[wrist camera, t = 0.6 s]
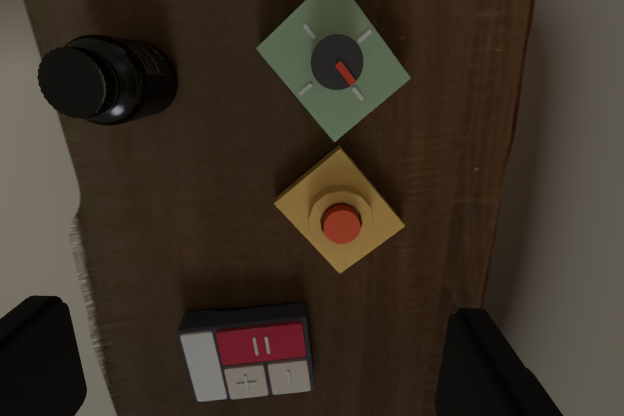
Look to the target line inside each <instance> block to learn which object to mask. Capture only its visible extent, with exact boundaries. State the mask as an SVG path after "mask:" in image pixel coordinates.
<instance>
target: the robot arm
mask: <svg viewBox="0 0 624 416" xmlns="http://www.w3.org/2000/svg"><path fill="white" fill-rule="evenodd" d="M86 393H87V387H86V383H85V378H84V374H83V369H82V365H81V360H80V356H79V352H78V347H77V343H76V339H75V334H74V329H73V325H72V321H71V316H70V311H69V308H68V305H67V304H66V303H63V302H62V300H61V299H60V298H59V297H57V296H30V297H28V298H27V299H25V300H24V301H23V302H21V303H20V304H19V305H18V306H17V307H15V308H14V309H12V310H11V311H10V312H9V313H7V314H6V315H5V316H4V317H2V318H1V319H0V416H74V415H75V414H76V412H77V411H78V410H79V409H80V407H81V405H82V404H83V402H84V400H85V397H86ZM435 410H436V414H437V416H563V415H562V413H561V412H560V410H559V409H558V408H557V406H556V405H555V403H554V402H553V401H552V399H551V398H550V396H549V395H548V394H547V392H546V391H545V389H544V388H543V386H542V385H541V384H540V382H539V381H538V380H537V378H536V377H535V375H534V374H533V373H532V372H531V371H530V370H529V369H527V368H526V367H525V366H524V364H523V363H522V362H521V360H520V359H519V357H518V356H517V355H516V353H515V352H514V350H513V349H512V347H511V346H510V344H509V343H508V341H507V340H506V339H505V337H504V336H503V334H502V333H501V331H500V330H499V328H498V327H497V326H496V324H495V323H494V321H493V320H492V319H491V317H490V316H489V314H488V313H487V311H485V309H478V308H459V309H458V310H457V312H456V314H451V315H450V316H449V320H448V326H447V332H446V338H445V343H444V349H443V355H442V361H441V367H440V372H439V378H438V384H437V390H436V396H435Z"/></svg>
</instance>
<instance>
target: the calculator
mask: <svg viewBox="0 0 624 416" xmlns="http://www.w3.org/2000/svg"><path fill="white" fill-rule="evenodd" d="M177 336H178V340H179V343H180V347H181V351H182V354H183V358H184V362H185V365H186V369H187V373H188V377H189V380H190V384H191V388H192V391H193V395H194V399H195V401H196V402H206V401H215V400H224V399H240V398H249V397H259V396H266V395H270V394H274V395H277V394H286V393H295V392H305V391H310V390H313V389H314V388H315V381H314V367H313V359H312V352H311V344H310V336H309V328H308V320H307V312H306V305H305V304H304V303H294V304H285V305H276V306H267V307H257V308H248V309H239V310H230V311H217V310H214V309H213V310H204V311H195V312H187V313H185V315H184V317H183V319H182V321H181V324H180V326H179V328H178V330H177Z"/></svg>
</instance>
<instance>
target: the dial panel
mask: <svg viewBox="0 0 624 416" xmlns="http://www.w3.org/2000/svg"><path fill="white" fill-rule="evenodd" d="M334 34H342V35H346V36H348V37H350V38H352V39H353V40H354V41H355V42H356V43H357V44H358V45H359V47H360V49H361V51H362V54H363V69H362V72H361V75H360V76H359V78H358V80H357V81H356V82H355V83H354V84H353V85H351V86H350V87H348V88H346V89H343V90H331V89H327V88H325V87H324V86H322V85H321V84H320V83H319V82H318V81H317V80H316V78H315V77H314V75H313V72H312V68H311V57H312V53H313V51H314V49H315V47H316V46H317V44H318V43H319V42H320V41H321V40H322V39H324V38H325V37H327V36H330V35H334ZM256 49H257V50H258V52H259V53H260V54H261V55H262V56H263V58H264V59H265V60H266V61H267V62H268V64H269V65H270V66H271V67H272V68H273V70H274V71H275V72H276V73H277V74H278V76H279V77H280V78H281V79H282V80H283V82H284V83H285V84H286V85H287V86H288V88H289V89H290V90H291V91H292V92H293V94H294V95H295V96H296V97H297V98H298V99H299V101H300V102H301V103H302V104H303V105H304V107H305V108H306V109H307V110H308V111H309V113H310V114H311V115H312V116H313V117H314V119H315V120H316V121H317V122H318V123H319V125H320V126H321V127H322V128H323V129H324V131H325V132H326V133H327V134H328V135H329V137H330V138H331V139H332V140H333V141H334V142H335V141H337V140H338V139H339V138H340V137H341V136H343V135H344V134H345V133H346V132H347V131H349V130H350V129H351V128H352V127H353V126H355V125H356V124H357V123H358V122H359V121H361V120H362V119H363V118H364V117H365V116H367V115H368V114H369V113H370V112H371V111H373V110H374V109H375V108H376V107H377V106H378V105H380V104H381V103H382V102H383V101H384V100H386V99H387V98H388V97H389V96H390V95H392V94H393V93H394V92H395V91H396V90H398V89H399V88H400V87H401V86H402V85H404V84H405V83H406V82H407V81H408V80H410V79H411V77H410V76H409V75H408V73H407V72H406V71H405V69H404V68H403V66H402V65H401V64H400V62H399V61H398V60H397V58H396V57H395V55H394V54H393V53H392V51H391V50H390V49H389V47H388V46H387V44H386V43H385V42H384V40H383V39H382V38H381V36H380V35H379V33H378V32H377V31H376V29H375V28H374V27H373V25H372V24H371V22H370V21H369V20H368V18H367V17H366V16H365V14H364V13H363V11H362V10H361V9H360V7H359V6H358V5H357V3H356V2H355V0H305V1H304V2H303V3H302V4H301V5H300V6H299V7H298V8H297V9H296V10H295V11H294V12H293V13H292V14H291V15H290V16H289V17H288V18H287V19H286V20H285V21H284V22H282V23H281V24H280V25H279V26H278V27H277V28H276V29H275V30H274V31H273V32H272V33H271V34H270V35H269V36H268V37H267V38H266V39H265V40H264V41H263V42H262V43H261V44H260V45H259V46H258V47H257V48H256Z"/></svg>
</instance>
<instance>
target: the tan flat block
mask: <svg viewBox="0 0 624 416" xmlns="http://www.w3.org/2000/svg"><path fill="white" fill-rule="evenodd" d="M274 204H275V205H276V206H277V207H278V209H279V210H280V211H281V212H282V213H283V214H284V215H285V216H286V217H287V218H288V219H289V220H290V221H291V222H292V223H293V224H294V226H295V227H296V228H297V229H298V230H299V231H300V232H301V233H302V234H303V235H304V236H305V237H306V238H307V239H308V240H309V242H310V243H311V244H312V245H313V246H314V247H315V248H316V249H317V250H318V251H319V252H320V253H321V254H322V255H323V256H324V257H325V259H326V260H327V261H328V262H329V263H330V264H331V265H332V266H333V267H334V268H335V269H336V270H337V271H338V272H339V273H342V272H343V271H344V270H346V269H347V268H349V267H350V266H351V265H353V264H354V263H355V262H357V261H358V260H360V259H361V258H362V257H364V256H365V255H366V254H368V253H369V252H371V251H372V250H373V249H375V248H376V247H377V246H379V245H380V244H382V243H383V242H384V241H386V240H387V239H388V238H390V237H391V236H393V235H394V234H395V233H397V232H398V231H399V230H401V229H402V228H404V227H405V225H404V223H403V221H402V219H401V218H400V217H399V216H398V214H397V213H396V212H395V211H394V210H393V208H392V207H391V206H390V205H389V204H388V202H387V201H386V200H385V199H384V198H383V196H382V195H381V194H380V193H379V192H378V190H377V189H376V188H375V187H374V186H373V184H372V183H371V182H370V181H369V180H368V178H367V177H366V176H365V175H364V174H363V172H362V171H361V170H360V169H359V168H358V166H357V165H356V164H355V163H354V162H353V160H352V159H351V158H350V157H349V156H348V154H347V153H346V152H345V151H344V150H343V148H342V147H341V146H340V145H338V146H337V147H336V148H335V149H333V150H332V151H331V152H330V153H329V154H327V155H326V156H325V157H324V158H323V159H321V160H320V161H319V162H318V163H317V164H315V165H314V166H313V167H312V168H311V169H309V170H308V171H307V172H306V173H305V174H303V175H302V176H301V177H300V178H298V179H297V180H296V181H295V182H294V183H292V184H291V185H290V186H289V187H288V188H286V189H285V190H284V191H283V192H282V193H280V194H279V195H278V196H277V197H276V198H275V201H274ZM339 204H344V205H348V206H350V207H352V208H353V209H354V210H355V211H356V212H357V214H358V217H359V221H360V232H359V234H358V236H357V237H356V238H355V239H354V240H353V241H351V242H349V243H346V244H337V243H334V242H332V241H331V240H329V239H328V238H327V237H326V235H325V233H324V227H323V219H324V215H325V213H326V212H327V210H328V209H329V208H331V207H333V206H335V205H339Z"/></svg>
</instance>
